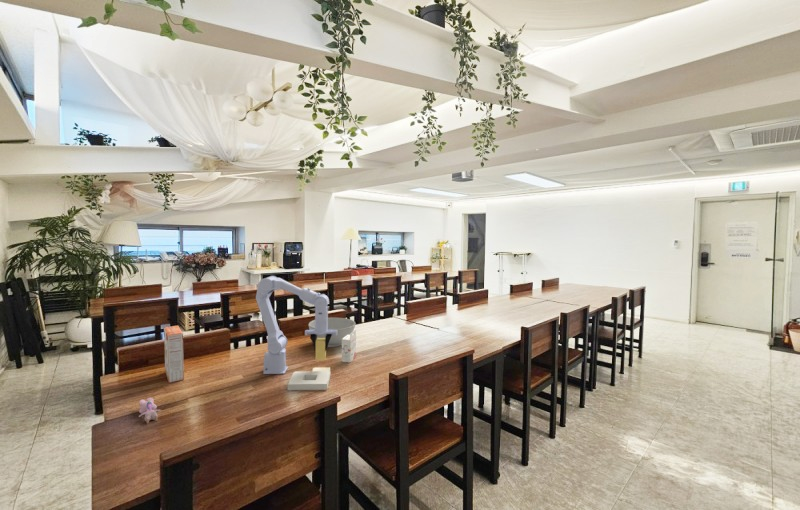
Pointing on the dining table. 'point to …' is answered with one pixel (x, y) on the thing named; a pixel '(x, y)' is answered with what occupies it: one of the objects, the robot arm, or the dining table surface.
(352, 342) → the ink cartridge box
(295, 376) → the holder
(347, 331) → the decorative bowl
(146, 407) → the pink toy figurine
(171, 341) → the cracker box
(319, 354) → the block
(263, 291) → the robot arm
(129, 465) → the dining table surface
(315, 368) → the mat
